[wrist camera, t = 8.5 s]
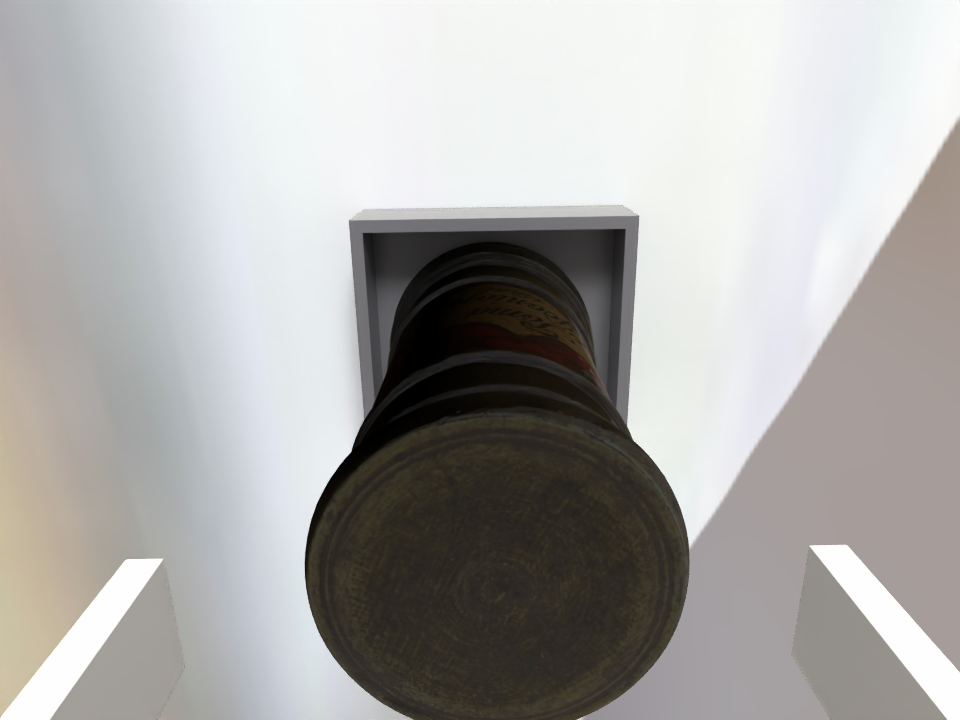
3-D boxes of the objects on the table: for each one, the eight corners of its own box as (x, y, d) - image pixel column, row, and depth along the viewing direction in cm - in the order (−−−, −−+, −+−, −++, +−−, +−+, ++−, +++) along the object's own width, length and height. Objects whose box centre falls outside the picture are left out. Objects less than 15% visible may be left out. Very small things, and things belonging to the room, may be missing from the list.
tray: (380, 443, 34) (369, 477, 31) (363, 209, 31) (349, 220, 27) (610, 440, 34) (624, 474, 31) (622, 205, 30) (639, 215, 27)
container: (580, 431, 33) (680, 761, 16) (393, 422, 33) (294, 744, 16) (600, 244, 30) (749, 406, 13) (394, 234, 30) (276, 383, 13)
